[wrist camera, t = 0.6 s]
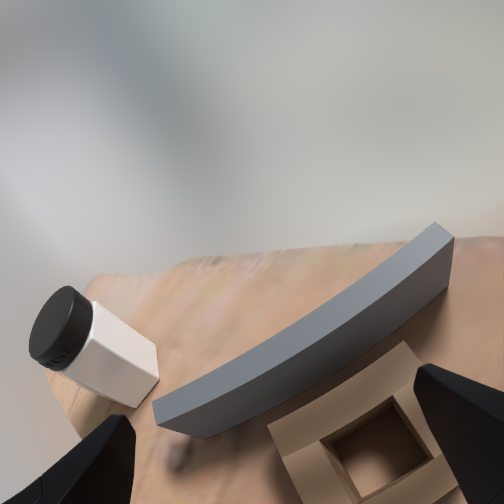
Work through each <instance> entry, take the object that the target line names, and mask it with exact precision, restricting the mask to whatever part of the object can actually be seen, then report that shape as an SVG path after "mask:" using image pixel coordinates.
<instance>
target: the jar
mask: <svg viewBox="0 0 504 504" xmlns="http://www.w3.org/2000/svg"><path fill="white" fill-rule="evenodd" d="M29 352H30V355H31V357H32V358H33V359H34V360H36V361H38V362H39V363H40V364H41V365H43V366H44V367H46V368H49V369H51V370H53V371H55V372H56V373H58V374H60V375H62V376H63V377H65V378H67V379H69V380H71V381H73V382H74V383H76V385H78V386H80V387H82V388H84V389H86V390H88V391H91V392H93V393H95V394H98V395H100V396H101V397H105V398H107V399H109V400H111V401H114V402H117V403H120V404H123V405H126V406H129V407H132V408H137V407H138V405H139V404H140V403H141V402H142V400H143V399H144V398H145V397H146V395H147V394H148V393H149V392H150V391H151V389H152V388H153V387H154V386H155V384H156V383H157V382H158V381H159V379H160V376H159V369H158V361H157V353H156V346H155V344H153V343H152V342H150V341H149V340H147V339H146V338H145V337H143V336H142V335H140V334H139V333H137V332H136V331H135V330H133V329H132V328H130V327H129V326H128V325H126V324H125V323H123V322H122V321H121V320H119V319H118V318H117V317H115V316H114V315H113V314H111V313H110V312H109V311H108V310H106V309H105V308H104V307H102V306H101V305H100V304H99V303H97V302H96V301H89V300H87V299H86V298H85V297H84V296H82V295H81V294H80V293H79V292H78V291H76V290H75V289H74V288H73V287H71V286H64V287H62V288H60V289H59V290H57V291H56V292H55V293H54V294H53V295H52V296H51V297H50V298H49V300H48V301H47V302H46V303H45V305H44V306H43V308H42V309H41V311H40V313H39V315H38V316H37V318H36V321H35V323H34V325H33V328H32V331H31V334H30V339H29Z"/></svg>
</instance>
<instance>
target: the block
mask: <svg viewBox="0 0 504 504" xmlns="http://www.w3.org/2000/svg"><path fill="white" fill-rule="evenodd" d="M422 365H423V364H422V363H421V362H420V360H419V359H418V358H417V356H416V355H415V354H414V353H413V351H412V350H411V349H410V348H409V346H408V345H407V344H406V342H405V341H404V340H403V341H402V342H401V343H399V344H398V345H397V346H395V347H394V348H393V349H391V350H390V351H389V352H387V353H386V354H385V355H383V356H382V357H381V358H379V359H378V360H376V361H375V362H374V363H372V364H371V365H369V366H368V367H366V368H365V369H363V370H362V371H360V372H359V373H357V374H356V375H354V376H353V377H351V378H350V379H348V380H347V381H345V382H344V383H342V384H340V385H339V386H337V387H336V388H334V389H332V390H331V391H329V392H327V393H326V394H324V395H322V396H321V397H319V398H317V399H316V400H314V401H312V402H310V403H309V404H307V405H305V406H303V407H301V408H299V409H298V410H296V411H294V412H292V413H290V414H288V415H286V416H284V417H282V418H281V419H279V420H277V421H275V422H273V423H271V424H268V425H267V427H268V429H269V431H270V434H271V436H272V438H273V440H274V443H275V445H276V447H277V449H278V451H279V454H280V456H281V458H282V460H283V462H284V465H285V467H286V469H287V471H288V473H289V475H290V477H291V480H292V482H293V484H294V486H295V488H296V490H297V492H298V494H299V496H300V498H301V500H302V502H303V504H432V503H434V502H435V501H437V500H438V499H440V498H441V497H442V496H444V495H445V494H447V493H448V492H450V491H451V490H452V489H454V488H455V487H456V486H458V485H459V484H458V482H457V480H456V478H455V476H454V474H453V472H452V470H451V468H450V466H449V465H448V463H447V461H446V459H445V457H444V455H443V453H442V451H441V449H440V447H439V446H438V444H437V442H436V440H435V438H434V436H433V434H432V433H431V431H430V429H429V427H428V424H427V422H426V420H425V417H424V415H423V412H422V410H421V408H420V405H419V403H418V400H417V398H416V396H415V394H414V390H413V384H414V380H415V376H416V372H417V369H418V368H419V367H420V366H422ZM391 407H394V408H395V410H396V411H397V413H398V414H399V416H400V417H401V419H402V420H403V422H404V423H405V425H406V426H407V428H408V429H409V431H410V433H411V434H412V436H413V437H414V439H415V440H416V442H417V443H418V445H419V446H420V448H421V450H422V451H423V453H424V454H425V456H426V457H427V459H426V460H424V461H423V462H421V463H420V464H419V465H417V466H416V467H414V468H413V469H411V470H410V471H408V472H407V473H405V474H403V475H402V476H400V477H399V478H397V479H395V480H394V481H392V482H390V483H389V484H387V485H385V486H383V487H382V488H380V489H378V490H376V491H374V492H373V493H371V494H369V495H367V496H365V497H363V498H362V497H361V496H360V494H359V492H358V490H357V488H356V487H355V485H354V483H353V481H352V479H351V478H350V476H349V474H348V472H347V470H346V469H345V467H344V465H343V463H342V461H341V459H340V458H339V456H338V454H337V452H336V450H335V449H334V447H333V445H332V444H333V443H335V442H337V441H338V440H340V439H342V438H344V437H346V436H347V435H349V434H351V433H352V432H354V431H356V430H357V429H359V428H361V427H362V426H364V425H366V424H367V423H369V422H370V421H372V420H374V419H375V418H377V417H378V416H380V415H381V414H383V413H384V412H386V411H387V410H389V409H390V408H391Z"/></svg>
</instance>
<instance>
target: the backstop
mask: <svg viewBox="0 0 504 504" xmlns="http://www.w3.org/2000/svg"><path fill="white" fill-rule="evenodd" d="M453 247H454V236H453V235H452V234H451V233H449V232H448V231H447V230H445V229H444V228H443V227H441V226H440V225H439V224H437V223H436V222H434V223H433V224H431V225H430V226H429V227H428V228H426V229H425V230H424V231H423V232H422V233H420V234H419V235H418V236H417V237H415V238H414V239H413V240H411V241H410V242H409V243H408V244H406V245H405V246H404V247H402V248H401V249H400V250H399V251H397V252H396V253H395V254H393V255H392V256H391V257H389V258H388V259H387V260H385V261H384V262H383V263H381V264H380V265H379V266H377V267H376V268H375V269H373V270H372V271H370V272H369V273H368V274H366V275H365V276H364V277H362V278H361V279H359V280H358V281H356V282H355V283H354V284H352V285H351V286H349V287H348V288H347V289H345V290H344V291H342V292H341V293H339V294H338V295H336V296H335V297H333V298H332V299H330V300H329V301H327V302H326V303H324V304H323V305H321V306H320V307H318V308H317V309H315V310H314V311H312V312H311V313H309V314H308V315H306V316H305V317H303V318H301V319H300V320H298V321H297V322H295V323H294V324H292V325H290V326H289V327H287V328H286V329H284V330H282V331H281V332H279V333H278V334H276V335H274V336H273V337H271V338H269V339H268V340H266V341H264V342H263V343H261V344H259V345H258V346H256V347H254V348H252V349H251V350H249V351H247V352H246V353H244V354H242V355H240V356H239V357H237V358H235V359H233V360H231V361H230V362H228V363H226V364H224V365H223V366H221V367H219V368H217V369H215V370H213V371H212V372H210V373H208V374H206V375H204V376H202V377H200V378H198V379H196V380H195V381H193V382H191V383H189V384H187V385H185V386H183V387H181V388H179V389H177V390H175V391H173V392H171V393H169V394H167V395H165V396H163V397H161V398H159V399H157V400H154V401H152V405H153V410H154V415H155V421H156V425H157V426H160V427H163V428H167V429H170V430H173V431H176V432H180V433H183V434H186V435H190V436H194V437H197V438H201V439H206V438H209V437H211V436H214V435H216V434H218V433H221V432H223V431H225V430H228V429H230V428H232V427H234V426H237V425H239V424H241V423H243V422H245V421H247V420H249V419H251V418H254V417H256V416H258V415H260V414H262V413H264V412H266V411H268V410H270V409H272V408H273V407H275V406H277V405H279V404H281V403H283V402H285V401H287V400H288V399H290V398H292V397H294V396H296V395H298V394H299V393H301V392H303V391H305V390H306V389H308V388H310V387H311V386H313V385H315V384H316V383H318V382H320V381H321V380H323V379H325V378H326V377H328V376H330V375H331V374H333V373H334V372H336V371H338V370H339V369H341V368H342V367H344V366H345V365H347V364H348V363H350V362H351V361H353V360H354V359H356V358H357V357H359V356H360V355H362V354H363V353H365V352H366V351H367V350H369V349H370V348H372V347H373V346H375V345H376V344H377V343H379V342H380V341H381V340H383V339H384V338H385V337H387V336H388V335H390V334H391V333H392V332H393V331H395V330H396V329H397V328H399V327H400V326H401V325H403V324H404V323H405V322H406V321H408V320H409V319H410V318H411V317H413V316H414V315H415V314H416V313H417V312H419V311H420V310H421V309H422V308H423V307H425V306H426V305H427V304H428V303H429V302H431V301H432V300H433V299H434V298H435V297H436V296H437V295H439V294H440V293H441V292H442V291H443V290H444V289H445V288H446V287H447V286H449V279H450V272H451V265H452V256H453Z"/></svg>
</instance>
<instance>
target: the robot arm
mask: <svg viewBox="0 0 504 504" xmlns="http://www.w3.org/2000/svg"><path fill="white" fill-rule="evenodd" d="M413 390H414V394H415V396H416V398H417V400H418V403H419V405H420V408H421V410H422V412H423V415H424V417H425V420H426V422H427V424H428V427H429V429H430V431H431V433H432V434H433V436H434V438H435V440H436V442H437V444H438V446H439V447H440V449H441V451H442V453H443V455H444V457H445V459H446V461H447V463H448V465H449V466H450V468H451V470H452V472H453V474H454V476H455V478H456V480H457V482H458V484H459V486H460V488H461V491H462V493H463V495H464V497H465V499H466V501H467V503H468V504H504V392H502V391H499V390H497V389H494V388H491V387H489V386H486V385H484V384H481V383H478V382H476V381H473V380H471V379H468V378H466V377H463V376H461V375H458V374H456V373H453V372H451V371H448V370H446V369H443V368H441V367H438V366H436V365H433V364H430V363H428V364H425V365H422V366H420V367H419V368H418V369H417V372H416V376H415V380H414V384H413ZM135 446H136V433H135V430H134V429H133V427H132V425H131V423H130V422H129V420H128V418H127V417H126V416H125V415H124V414H112V415H110V416H109V417H108V418H107V419H106V420H105V421H103V422H102V423H101V424H100V425H99V426H98V427H97V428H96V429H94V430H93V431H92V432H91V433H90V434H89V435H88V436H86V437H85V438H84V439H83V440H82V441H81V442H80V443H79V444H77V445H76V446H75V447H74V448H73V449H72V450H70V451H69V452H68V453H67V454H66V455H65V456H63V457H62V458H61V459H60V460H59V461H58V462H56V463H55V464H54V465H53V466H52V467H51V468H49V469H48V470H47V471H46V472H45V473H44V474H42V476H40V477H39V478H37V479H36V480H35V481H34V482H33V483H31V484H30V485H29V486H27V487H26V488H25V489H24V490H22V491H21V492H19V493H18V494H16V495H15V496H13V497H12V498H10V499H9V500H7V501H5V502H4V503H2V504H130V499H131V493H132V486H133V479H134V465H135Z"/></svg>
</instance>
